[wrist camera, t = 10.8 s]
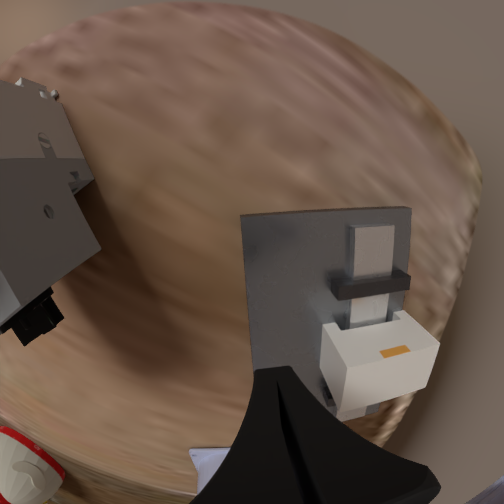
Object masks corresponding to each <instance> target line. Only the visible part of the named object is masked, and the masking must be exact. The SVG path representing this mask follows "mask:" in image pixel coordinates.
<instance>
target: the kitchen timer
mask: <svg viewBox="0 0 504 504" xmlns="http://www.w3.org/2000/svg"><path fill="white" fill-rule="evenodd" d="M64 477H65V472H64V470H63V469H62V468H61V466H60V465H59V464H58V463H57V462H56V461H55V460H54V459H53V458H52V457H51V456H50V455H48V454H47V453H46V452H45V451H44V450H43V449H41V448H40V447H39V446H37V445H36V444H35V443H33V442H32V441H31V440H29V439H28V438H26V437H25V436H23V435H22V434H20V433H18V432H16V431H15V430H13V429H10V428H8V427H6V426H0V504H46V503H47V500H48V499H49V498H50V497H51V496H52V495H53V494H54V493H55V492H56V491H57V490H58V489H59V487H60V486H61V484H62V482H63V480H64Z"/></svg>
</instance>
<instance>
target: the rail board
mask: <svg viewBox="0 0 504 504" xmlns="http://www.w3.org/2000/svg"><path fill="white" fill-rule="evenodd" d="M411 209H412V208H409V207H405V206H395V207H364V208H341V209H321V210H303V211H287V212H273V213H259V214H246V215H240V218H241V231H242V243H243V256H244V268H245V281H246V293H247V305H248V317H249V328H250V340H251V351H252V363H253V374H254V371H255V370H256V369H262V368H271V367H280V366H288V365H289V366H291V367H292V368H293V370H294V371H295V373H296V374H297V376H298V377H299V378H300V380H301V381H302V382H303V384H304V385H305V386H306V387H307V389H308V390H309V391H310V392H311V393H312V394H313V395H314V396H315V397H316V399H317V400H318V401H319V402H320V403H321V404H322V405H323V406H324V407H325V408H326V409H327V410H328V411H329V412H330V413H332V414H333V415H334V416H335V417H336V418H337V419H338V420H340V421H341V422H342V421H346V420H350V419H354V418H358V417H362V416H364V415H368V414H371V413H375V412H378V409H379V406H380V402H379V403H375V404H372V405H368V406H364V407H361V408H357V409H353V410H348V411H344V412H340V413H339V411H338V408H337V406H336V404H335V401H334V399H333V397H332V394H331V392H330V390H329V387H328V385H327V383H326V381H325V378H324V376H323V374H322V371H321V369H320V354H321V341H322V325H323V324H328V323H335V322H336V324H337V325H338V327H339V328H340V330H341V331H342V330H348V329H354V328H359V327H365V326H370V325H375V324H380V323H385V322H390V321H392V319H393V313H394V312H397V311H402V307H403V300H404V293H405V290H409V287H410V280H411V276H410V275H408V274H407V269H408V259H409V248H410V233H411Z"/></svg>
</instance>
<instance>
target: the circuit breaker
mask: <svg viewBox="0 0 504 504" xmlns="http://www.w3.org/2000/svg"><path fill="white" fill-rule="evenodd" d="M39 91H40V93H39ZM40 94H41V96H40ZM57 95H58V93H57V90H53V91H52V92H51V93H50V92H48V91H47V88H46V86H44V85H41V84H38V83H36V82H33V81H30V80H27V79H25V78H22V77H21V78H20V79H19V80H18V81H17V82H16V83H15V84H12V83H9V82H6V81H2V80H0V335H1V334H3V333H5V332H6V331H7V330H9V329H10V328H12V330H13V331H14V333H15V334H16V336H17V337H18V338H19V340H20V341H21V343H22V344H23V346H26V345H27V344H29V343H30V342H31V341H33V340H34V339H35V338H37V337H38V336H40V335H41V334H43V335H44V334H46V333H47V332H49V331H51V330H52V329H54V328H55V327H56V325H57V324H58V323H59V322H60V321H61V320H63V319H64V316H63V315H62V313H61V312H60V310H59V309H58V307H57V306H56V304H55V302H54V301H53V299H52V298H51V295H52V294H53V293H54V292H53V290H52V288H51V285H53V284H54V283H55V282H57V281H58V280H59V279H61V278H62V277H63V276H65V275H66V274H68V273H69V272H70V271H72V270H73V269H74V268H76V267H77V266H79V265H80V264H81V263H83V262H84V261H86V260H87V259H88V258H90V257H91V256H93V255H94V254H96V253H97V252H99V251H100V250H101V247H100V245H99V243H98V241H97V240H96V238H95V236H94V234H93V232H92V231H91V229H90V227H89V225H88V223H87V221H86V219H85V217H84V215H83V213H82V212H81V210H80V208H79V206H78V204H77V202H76V200H75V197H74V194H76V193H77V192H78V191H79V190H81V189H82V188H83V187H84V186H86V185H87V184H88V183H90V182H91V181H92V180H94V176H93V174H92V172H91V170H90V168H89V166H88V164H87V162H86V160H85V158H84V155H83V153H82V151H81V149H80V147H79V144H78V142H77V140H76V137H75V135H74V133H73V130H72V128H71V126H70V123H69V121H68V118H67V116H66V113H65V111H64V108H63V106H62V103H59V102H56V100H55V97H56V96H57Z"/></svg>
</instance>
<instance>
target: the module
mask: <svg viewBox="0 0 504 504" xmlns="http://www.w3.org/2000/svg"><path fill="white" fill-rule="evenodd" d="M439 345H440V343H439V342H438V341H437V340H436V339H435V338H434V337H433V336H432V335H431V334H430V333H428V332H427V331H426V330H425V329H424V328H423V327H422V326H421V325H420V324H419V323H418V322H416V321H415V320H414V319H413V318H412V317H411V316H410V315H409V314H407V313H406V312H405V311H404V310H402V311H397V312H394V313H393V319H392V321H390V322H385V323H380V324H375V325H370V326H365V327H359V328H354V329H348V330H342V331H341V330H340V328H339V327H338V325H337V324H336V322H335V323H328V324H323V325H322V341H321V354H320V369H321V371H322V374H323V376H324V378H325V381H326V383H327V385H328V387H329V390H330V392H331V394H332V397H333V399H334V401H335V404H336V406H337V408H338V411H339V413H340V412H344V411H348V410H353V409H357V408H361V407H364V406H368V405H372V404H375V403H379V402H382V401H386V400H389V399H392V398H395V397H399V396H402V395H405V394H408V393H411V392H413V391H416V390H419V389H422V388H424V387H426V384H427V381H428V378H429V376H430V373H431V370H432V367H433V364H434V361H435V358H436V355H437V352H438V349H439Z"/></svg>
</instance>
